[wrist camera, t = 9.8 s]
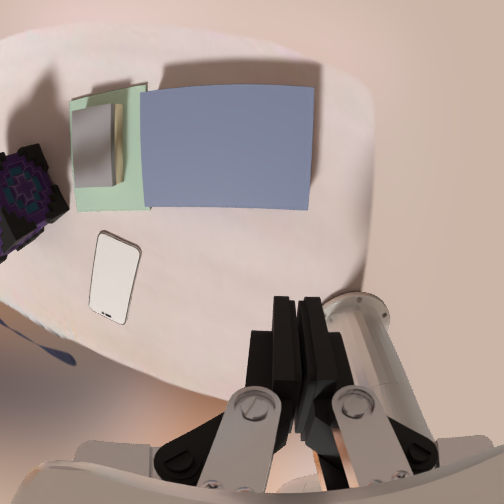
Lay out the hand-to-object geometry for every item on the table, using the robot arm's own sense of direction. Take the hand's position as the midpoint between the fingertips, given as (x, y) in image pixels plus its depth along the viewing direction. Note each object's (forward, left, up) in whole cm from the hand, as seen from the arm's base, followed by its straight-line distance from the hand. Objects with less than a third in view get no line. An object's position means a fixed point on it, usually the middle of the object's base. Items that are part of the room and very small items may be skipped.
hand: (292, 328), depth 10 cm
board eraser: (+6, +22, -23) cm, 32 cm away
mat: (+5, +22, -25) cm, 33 cm away
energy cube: (0, +38, -25) cm, 45 cm away
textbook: (+5, +6, -25) cm, 26 cm away
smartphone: (-14, +24, -25) cm, 38 cm away
